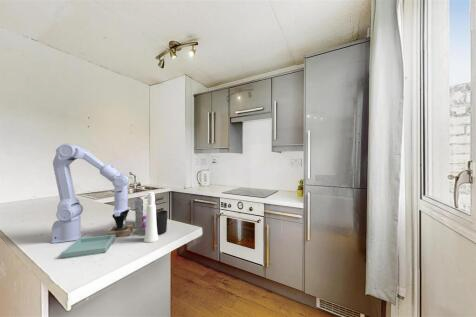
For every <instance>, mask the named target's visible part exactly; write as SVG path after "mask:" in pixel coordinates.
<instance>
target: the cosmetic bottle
mask: <svg viewBox="0 0 476 317" xmlns="http://www.w3.org/2000/svg"><path fill="white" fill-rule="evenodd" d="M147 195H148V205H147V213H146V228H145V232H144V239H143V242H144V243H147V244H149V243H155V242H156V241H157V242H158V240H159V235H158V233H157V223H156V212H157V208H156V194H155V192H154V191H149V192H148V194H147Z"/></svg>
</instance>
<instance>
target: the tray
mask: <svg viewBox="0 0 476 317" xmlns="http://www.w3.org/2000/svg"><path fill="white" fill-rule="evenodd" d="M116 238H117V237H116V234H114V235H108V234H106V235H99V236H90V237H80V238H79V239H78V240H75V241H74V242H73V243H71V245H70V246H68V247H67V248H66V249H65V250H64V251H63V252H62V253H61V260H63V259H70V258H78V257H84V256H91V255H99V254H106V253H107V251H108V250H109V249H110V247H111V246H112V244H113V243H114V241H115V240H116Z"/></svg>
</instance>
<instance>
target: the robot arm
mask: <svg viewBox="0 0 476 317" xmlns="http://www.w3.org/2000/svg"><path fill="white" fill-rule="evenodd" d="M55 152H56V153H55V156H54V158H53V160H52V167H53V172H54V175H55V181H56V185H57V186H56V187H57V191H58V196H59V200H60V201H59V202H58V205H57V211H56V214H55V215H56V219H57V220H55V221H54V222H53V224H52V226H51V241H50V244H56V243H66V242H73V241H74V242H76V241H77V240H78V239H79V238H82V236H84V235H85V233H84V232H81V214H82V213H83V211H84V207H83V205H82V204H81V203H80V200H79V199H78V198H77V197H76V193H75V188H74V184H73V178H72V177H73V176H72V174H71V173H72V172H71V167H70V165H71V164H72V163H73V162H74V161H76V160H77V159H79V160H83V161H85V162H87V163H88V164H90V165H92V166H94V167H95V169H98V170H99V174H100V175H101V176H103V177H104V178H105V179H107V180H108V181H109V182H112V186H113V188H114V197H113V199H114V200H113V201H114V204H113V205H114V208H113V212H114V213H113V214H112V215H111V216H112V218H113V220H114V222H115V225H116V226H117V229H120V228H123V223H124V218H125V217H126V218H127V217H128V215H129V212H130V210H131V206H129V202H128V201H129V198H128V197H129V195H128V194H129V190H128V184H129V182H130V178H129V177H128V175H127V174H123V172H121V171H118V169H116V168H115V166H114V165H111V164H105V163H104V162H103V161H101V159H99V158H98V157H97V156H95V155H94V154H92V152H91V151H89V150H88V149H86V148H85V147H83V146H82V145H80V144H71V143H62V144H61V145H59V147H58V148H56V149H55Z"/></svg>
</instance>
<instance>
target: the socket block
mask: <svg viewBox="0 0 476 317" xmlns="http://www.w3.org/2000/svg"><path fill="white" fill-rule="evenodd" d="M133 230H134V224H128V225H127V224H126V230H120V231H116V226H113V227H111V229H110V230H109V231H108V232H107V235H114V234H116V238H123V237H130V236H131V234H132V232H133Z"/></svg>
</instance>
